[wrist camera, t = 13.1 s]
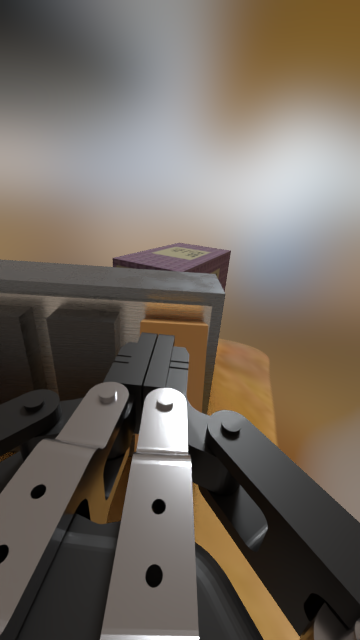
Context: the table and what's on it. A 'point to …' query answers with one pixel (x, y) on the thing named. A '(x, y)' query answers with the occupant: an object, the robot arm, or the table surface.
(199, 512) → the table surface
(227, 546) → the table surface
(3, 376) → the box
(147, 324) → the panel
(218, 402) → the table surface
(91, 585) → the robot arm
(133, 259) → the box
